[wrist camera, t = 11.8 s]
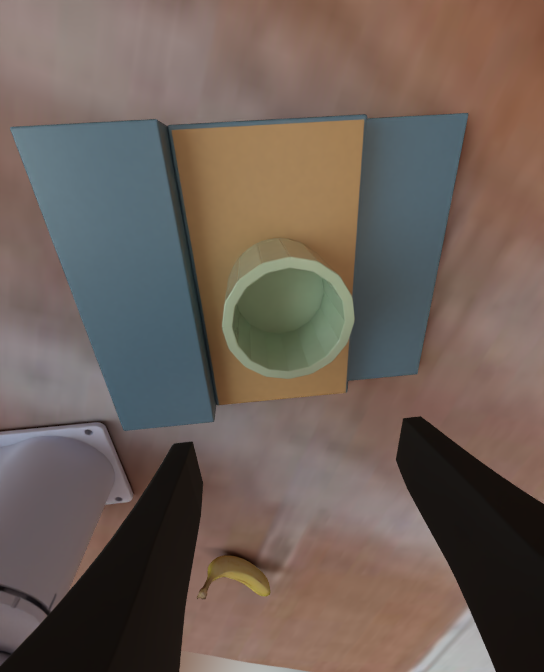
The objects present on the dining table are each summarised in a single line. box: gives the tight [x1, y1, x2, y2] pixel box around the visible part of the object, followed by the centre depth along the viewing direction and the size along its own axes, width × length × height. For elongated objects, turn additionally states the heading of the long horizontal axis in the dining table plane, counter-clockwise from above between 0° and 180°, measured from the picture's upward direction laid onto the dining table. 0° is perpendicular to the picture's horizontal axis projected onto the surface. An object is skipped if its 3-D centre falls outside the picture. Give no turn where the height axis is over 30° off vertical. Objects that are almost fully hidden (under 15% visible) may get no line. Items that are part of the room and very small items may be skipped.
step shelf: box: [10, 113, 468, 431], centre depth 16 cm, size 18×14×4 cm
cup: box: [222, 238, 355, 379], centre depth 13 cm, size 5×5×4 cm
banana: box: [197, 555, 270, 599], centre depth 28 cm, size 8×2×4 cm, turn 48°
